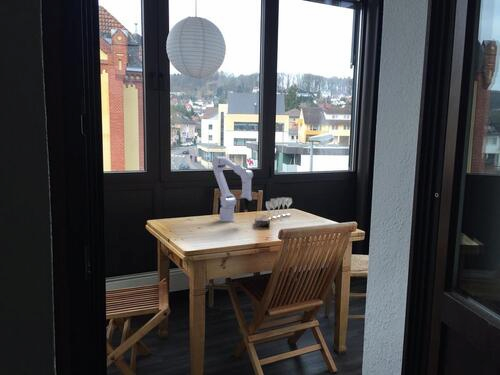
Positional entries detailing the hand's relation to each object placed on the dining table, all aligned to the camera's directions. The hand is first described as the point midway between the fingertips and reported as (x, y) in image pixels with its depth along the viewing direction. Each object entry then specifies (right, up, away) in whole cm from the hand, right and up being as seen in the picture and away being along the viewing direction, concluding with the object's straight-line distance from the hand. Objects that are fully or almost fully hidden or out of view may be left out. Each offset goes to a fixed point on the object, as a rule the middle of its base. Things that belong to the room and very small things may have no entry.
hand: (246, 209), depth 271 cm
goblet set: (+23, -6, +31) cm, 39 cm away
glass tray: (+10, -10, -1) cm, 14 cm away
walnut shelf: (+11, -10, -1) cm, 14 cm away
